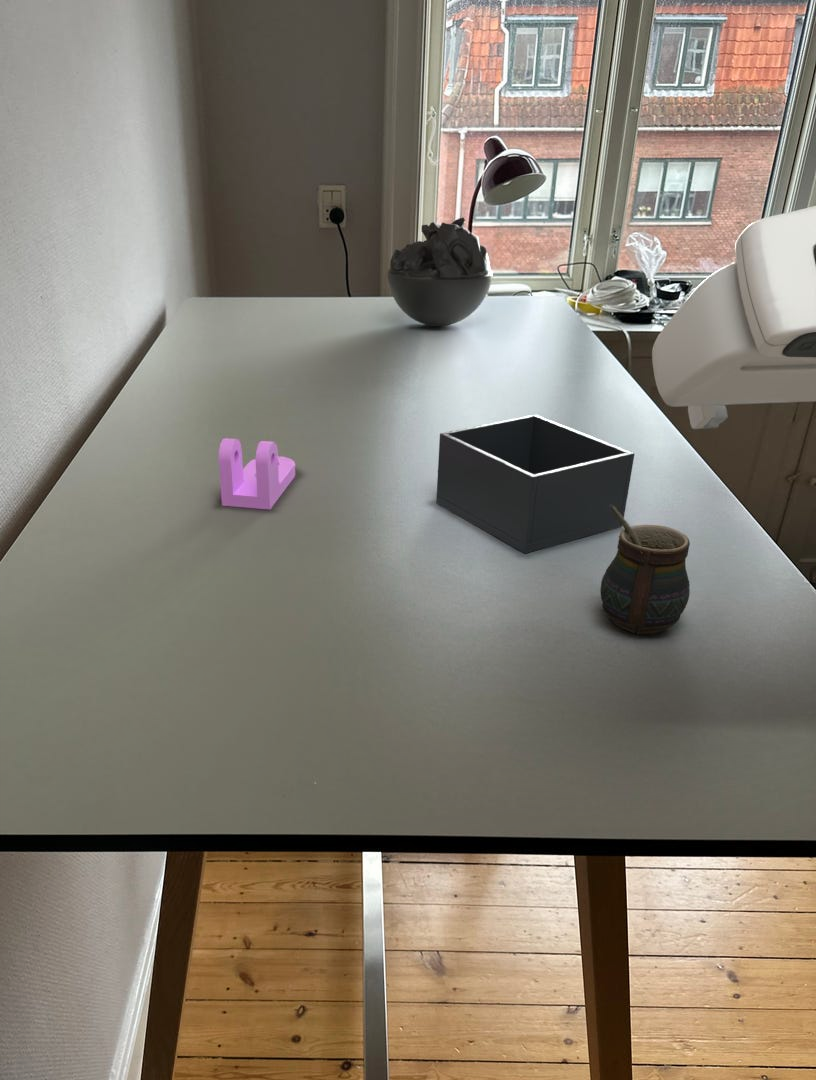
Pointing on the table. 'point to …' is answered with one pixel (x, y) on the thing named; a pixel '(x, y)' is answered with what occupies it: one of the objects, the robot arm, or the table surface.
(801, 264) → the robot arm
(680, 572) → the mate gourd
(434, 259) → the grey filled bowl
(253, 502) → the bracket
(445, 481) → the waste bin
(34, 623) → the table surface
